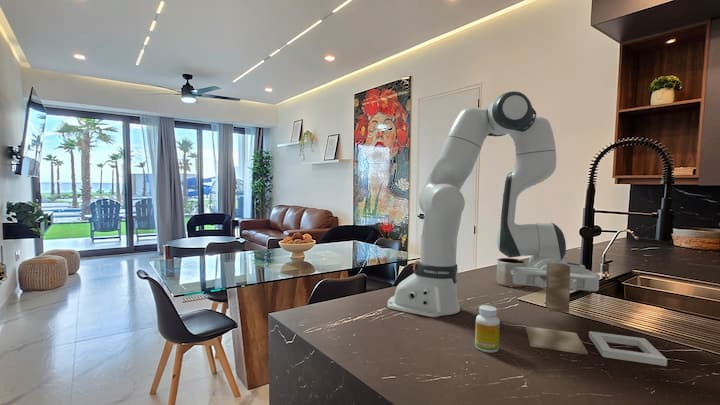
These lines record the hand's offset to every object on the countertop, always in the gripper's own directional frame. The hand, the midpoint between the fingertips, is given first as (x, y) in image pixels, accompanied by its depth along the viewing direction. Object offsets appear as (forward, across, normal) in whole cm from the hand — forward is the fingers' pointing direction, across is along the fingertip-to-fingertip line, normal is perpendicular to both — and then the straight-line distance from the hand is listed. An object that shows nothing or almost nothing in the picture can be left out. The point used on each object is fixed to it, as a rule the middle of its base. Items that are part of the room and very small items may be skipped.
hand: (558, 286), depth 91 cm
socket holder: (-1, +15, +14) cm, 20 cm away
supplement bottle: (+10, -16, +14) cm, 24 cm away
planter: (-56, -7, +14) cm, 58 cm away
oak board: (-1, 0, +14) cm, 14 cm away
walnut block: (-1, 0, +6) cm, 6 cm away
